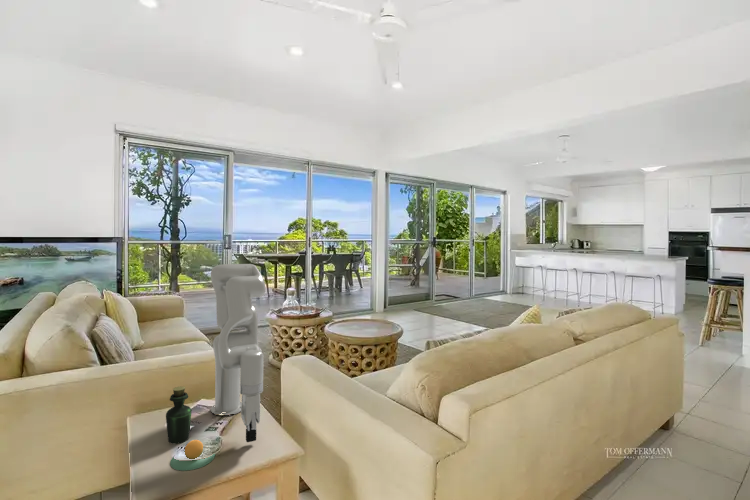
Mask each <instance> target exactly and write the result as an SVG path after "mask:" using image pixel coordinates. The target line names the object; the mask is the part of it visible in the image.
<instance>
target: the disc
mask: <svg viewBox="0 0 750 500" xmlns="http://www.w3.org/2000/svg"><path fill="white" fill-rule="evenodd" d="M215 456H216V453H215V454H213V455H212V456H210V457H208V458H205V459H200V460H192V461H179V460H176V459H174V456H173V457H172V458H171V459H170V461H169V462H170V463H169V464H170V467H171V468H172V469H174V470H176V471H183V472H184V471H186V472H187V471H193V470H197V469H200V468H203V467H205V466H207V465H208V464H210V463H211V462H212V461H213V460H214V459H215Z"/></svg>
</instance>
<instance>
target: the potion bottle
mask: <svg viewBox="0 0 750 500" xmlns="http://www.w3.org/2000/svg"><path fill="white" fill-rule="evenodd" d="M172 390H173V394H171V395H170V397H169V401H170V402H173V407H170V408H169V409H168V410H167V412H165V413H166V414H165V420H166V422H165V423H166V433H167V441H168V442H169V444H172V445H179V444H182V443H185V442H186V441H188V440H189V438H190V432H191V430H190V425H191V420H192V411H193V410H192V408H191V407H190V406H188V405H185V402H186V401H185V400H187V399H189V393H187V392H185V390H186V387H185V386H184V385H183V386H177V387H173V388H172Z"/></svg>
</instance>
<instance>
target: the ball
mask: <svg viewBox="0 0 750 500" xmlns="http://www.w3.org/2000/svg"><path fill="white" fill-rule="evenodd" d="M203 447H204V443H203V442H202V441H200V440H199V439H193V440H191V441H189V442H188V443H187V444H186V445H185V447H184V450H185V451H184V450H183V451H184V452H185V455H186V457H187V458H189V459H195V458H197V457H199V456H200V455H201V454H202V452H203Z"/></svg>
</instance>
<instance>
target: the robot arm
mask: <svg viewBox="0 0 750 500" xmlns="http://www.w3.org/2000/svg"><path fill="white" fill-rule="evenodd" d="M210 281H211V284H212V288H213V290H214V292H215V302H216V304H215V305H216V306H215V307H216V310H215V311H216V325H217V327H218V328H219V329H220V333H219V334H218V335H216V336H215V337H214V339H213V342H212V347H213V354H214V363H215V365H214V367H215V368H214V370H215V371H214V374H215V376H214V377H215V381H214V382H215V383H214V387H215V388H214V389H215V390H214V391H215V392H214V396H215V398H214V405H213V406H211V407H210V413H211V412H212V413H214V414H221V413H222V412H226V413H222V414H225V415H228V414H234V415H236V414H239V413H240V417H241V419H242V422H243V423H242V424H243V425H244V426H245V427H246V428H245V440H246V441H245V442H246V443H251V442H255V441H257V424H260V421H261V394H262V393H263V392H264V353H263V352H262V348H261V347H260V345H259V330H258V329H259V322H258V321H259V320H258V311H257V308H256V307H255V306H254V305H253V304H252V298H261V297H264V295H265V294H266V284H265V279H264V277H263V275H262V273H261V272H260V271H259V269H258V267H257V266H256V265H255V264H252V263H225V264H224V263H223V264H217V265H215V266H213V267H212V269H211V272H210ZM236 329H244V330H241V331H232V330H236ZM240 398H241V399H240ZM214 406H215V407H214ZM212 413H211V414H212Z"/></svg>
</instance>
